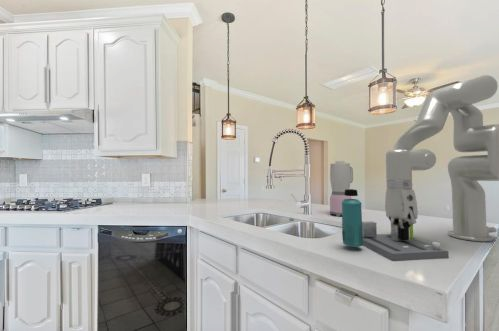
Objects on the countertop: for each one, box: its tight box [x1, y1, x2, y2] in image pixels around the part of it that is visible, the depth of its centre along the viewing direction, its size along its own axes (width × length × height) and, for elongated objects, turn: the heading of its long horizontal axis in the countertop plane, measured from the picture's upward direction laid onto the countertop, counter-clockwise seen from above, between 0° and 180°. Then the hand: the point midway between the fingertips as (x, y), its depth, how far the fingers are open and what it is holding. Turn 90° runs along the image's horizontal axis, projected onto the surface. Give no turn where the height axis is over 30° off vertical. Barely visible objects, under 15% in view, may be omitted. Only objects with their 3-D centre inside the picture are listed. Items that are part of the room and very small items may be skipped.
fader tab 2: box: [390, 223, 410, 241], centre depth 81 cm, size 5×2×5 cm, turn 96°
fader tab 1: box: [362, 220, 378, 237], centre depth 86 cm, size 5×2×5 cm, turn 96°
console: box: [362, 233, 449, 262], centre depth 79 cm, size 18×20×4 cm
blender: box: [329, 160, 354, 218], centre depth 141 cm, size 16×12×32 cm
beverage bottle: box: [341, 188, 363, 248], centre depth 80 cm, size 6×7×20 cm
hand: (400, 237), depth 81 cm, fingers closed on fader tab 2, 2 cm apart
